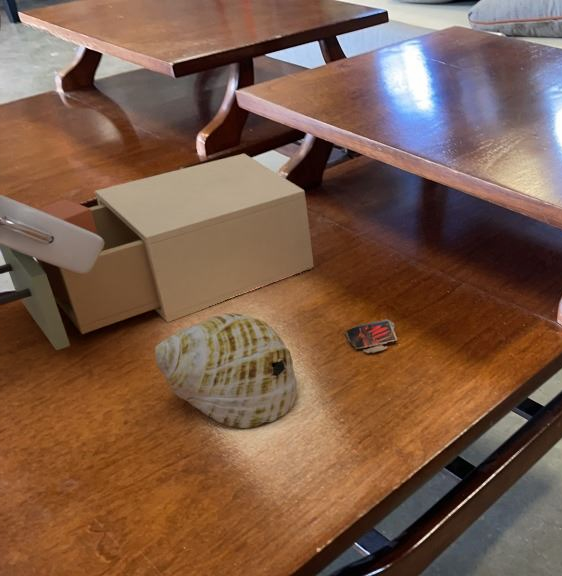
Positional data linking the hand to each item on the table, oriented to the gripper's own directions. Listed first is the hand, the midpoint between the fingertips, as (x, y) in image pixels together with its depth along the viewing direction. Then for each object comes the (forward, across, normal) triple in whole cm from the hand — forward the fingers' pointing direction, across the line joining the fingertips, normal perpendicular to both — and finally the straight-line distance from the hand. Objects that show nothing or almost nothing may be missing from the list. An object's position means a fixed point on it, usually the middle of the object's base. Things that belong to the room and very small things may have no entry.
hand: (75, 248), depth 73 cm
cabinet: (+14, -4, -4) cm, 15 cm away
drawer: (+5, 0, +4) cm, 6 cm away
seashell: (+4, -22, +7) cm, 23 cm away
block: (+3, 0, +4) cm, 5 cm away
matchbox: (+13, -27, -3) cm, 30 cm away
